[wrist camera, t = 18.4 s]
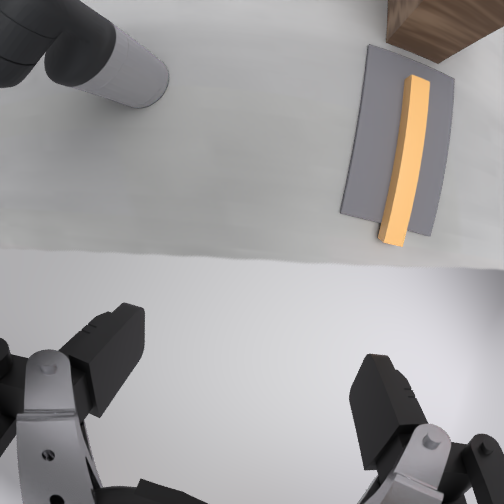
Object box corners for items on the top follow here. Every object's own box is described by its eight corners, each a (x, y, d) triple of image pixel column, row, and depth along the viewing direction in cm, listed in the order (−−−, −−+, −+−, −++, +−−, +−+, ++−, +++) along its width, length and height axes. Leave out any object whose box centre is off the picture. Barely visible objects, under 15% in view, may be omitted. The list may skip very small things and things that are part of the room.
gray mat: (427, 235, 43) (430, 236, 42) (339, 212, 43) (341, 213, 42) (451, 80, 35) (454, 78, 34) (367, 46, 36) (369, 44, 35)
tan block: (395, 241, 43) (402, 246, 40) (377, 237, 43) (383, 242, 40) (421, 86, 35) (430, 81, 33) (404, 79, 36) (411, 74, 33)
